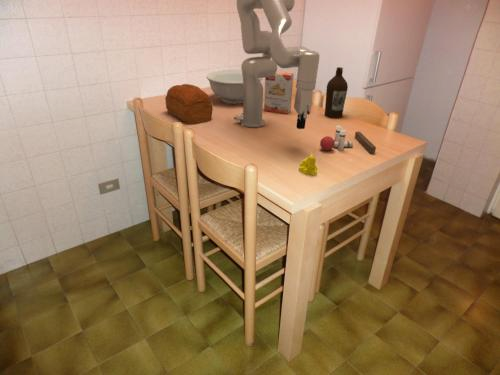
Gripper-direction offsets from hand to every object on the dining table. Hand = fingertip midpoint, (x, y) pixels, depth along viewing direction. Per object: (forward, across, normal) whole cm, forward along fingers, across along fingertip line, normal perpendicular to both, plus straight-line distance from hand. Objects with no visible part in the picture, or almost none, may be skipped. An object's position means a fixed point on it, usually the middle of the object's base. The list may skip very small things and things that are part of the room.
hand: (300, 128), depth 150 cm
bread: (+12, -45, -48) cm, 67 cm away
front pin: (+7, +1, +15) cm, 17 cm away
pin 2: (+8, +4, +18) cm, 20 cm away
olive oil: (+10, -41, +29) cm, 51 cm away
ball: (+5, +4, +11) cm, 13 cm away
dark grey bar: (+8, 0, +30) cm, 31 cm away
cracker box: (+11, -50, 0) cm, 51 cm away
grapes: (+8, +23, -1) cm, 24 cm away
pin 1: (+8, -1, +18) cm, 20 cm away
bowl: (+12, -73, -22) cm, 77 cm away
